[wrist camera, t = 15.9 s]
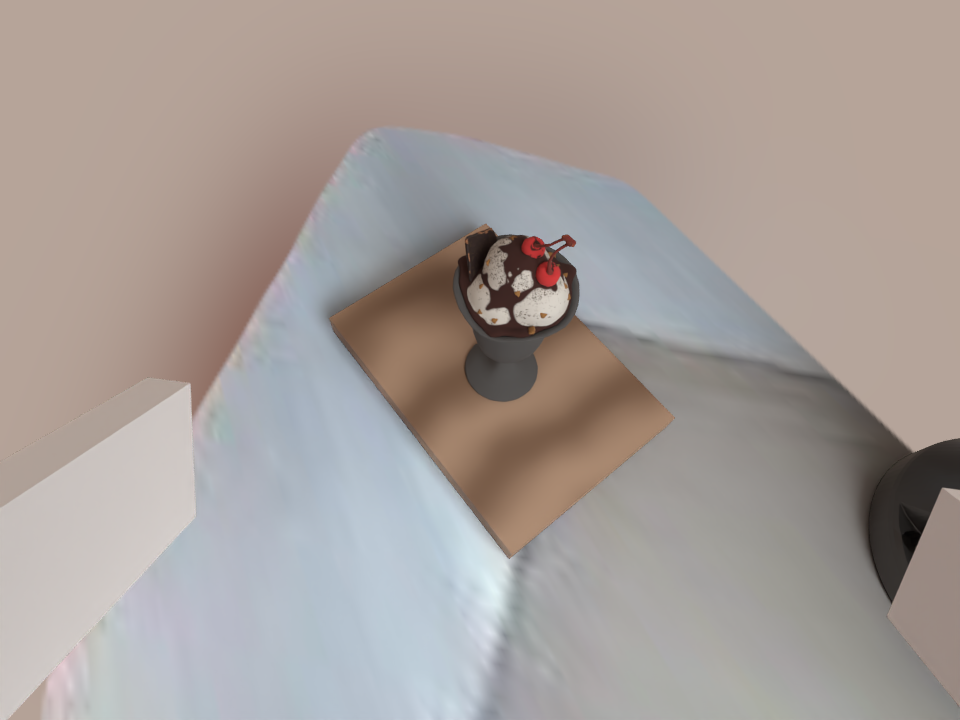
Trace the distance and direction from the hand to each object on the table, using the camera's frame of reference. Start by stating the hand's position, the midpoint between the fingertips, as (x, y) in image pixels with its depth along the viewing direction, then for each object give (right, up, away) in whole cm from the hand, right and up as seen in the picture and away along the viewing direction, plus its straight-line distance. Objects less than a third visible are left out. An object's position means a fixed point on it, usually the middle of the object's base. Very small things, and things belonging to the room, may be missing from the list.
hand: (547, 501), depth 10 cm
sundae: (0, +2, +29) cm, 29 cm away
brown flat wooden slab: (0, +1, +31) cm, 31 cm away
